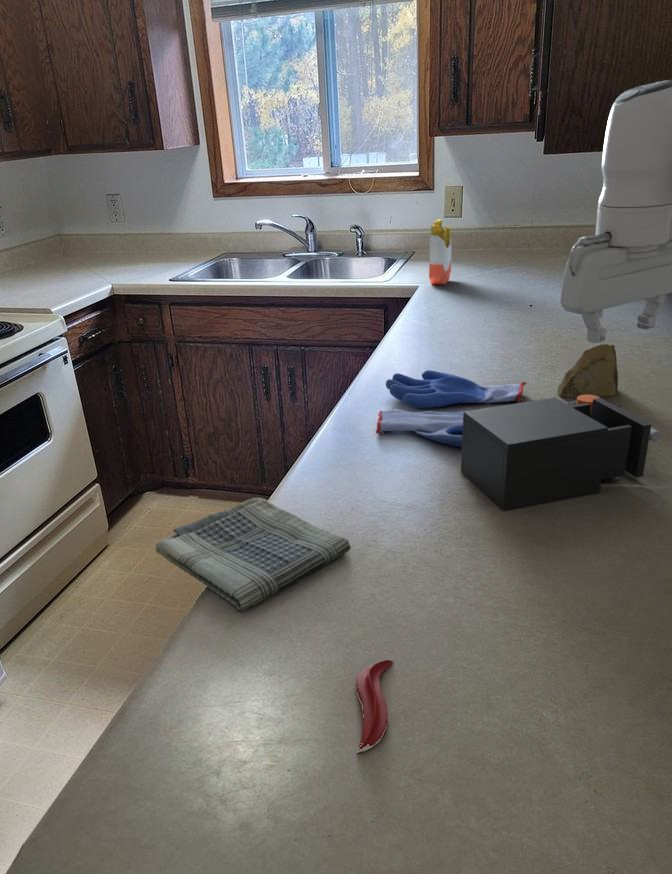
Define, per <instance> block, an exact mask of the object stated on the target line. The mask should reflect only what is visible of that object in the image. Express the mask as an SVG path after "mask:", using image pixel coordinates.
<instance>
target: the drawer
mask: <svg viewBox="0 0 672 874" xmlns="http://www.w3.org/2000/svg"><path fill="white" fill-rule="evenodd" d="M571 407H573V408H574V409H576V410H578V411H580V412H581V413H583V414H585V415H587V416H588V417H589V415H590V407H591V404H589V403H584V404H578V405H572V406H571ZM591 418H592V419H594V420H595V421H597V422H599V423H601V424H602V425H604V426H606V427H608V433H607V434H608V435H607V442H606V449H605V456H604V463H603V471H602V478H601V481H603V480H607V479H613V478H618V477H624V476H625V475H626V473H627V474H629V475H630V476H632V477H634V479H635V478H642V477H644V471H645V468H646V467H645V466H646V461H647V460H646V459H647V454H648V448H649V442H650V441H651V442H653V443H656V442H658V441H660V439H661V437H662V433H661V431H659V430H657V429H655V428H653V427H652V423H649V422H648V421H645V420H643V419H641V418H640V417H638V416H636V415H634V414H632V413H630V412H629V411H626V410H624V409H622V408H621V407H620V408H618V407H617V406H616V405H615V404H612V403H610V402H609V401H607V400H606V399H603V398H601V397H600V398H596V399H593V403H592V411H591Z"/></svg>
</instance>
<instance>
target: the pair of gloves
mask: <svg viewBox="0 0 672 874" xmlns="http://www.w3.org/2000/svg"><path fill="white" fill-rule="evenodd" d="M421 377H422V379H418V378H413V377H411V376H408V375H405V374H402V373H394V374H392V378H389V379H386V381H385V387H386V389H387V390H388V391H389V393H390V396H392V397H394V398H395V399H397V400H399V401H401V402H403V403H404V404H405V405H406V406H408V407H412V408H415V409H425V408H440V407H446V406H450V405H455V404H472V403H473V404H474V403H475V404H476V403H483V404H494V403H495V404H496V403H510V402H515V404H516V403H520V401H521V397H522V395H523V392H524V386H525V385H527V382H525V381H522V382H520V383H518V384H501V385H494V384H493V385H486V386H484V385H482V384H478V383H477V382H474V381H473V380H470V379H467V378H465V377H462V376H459V375H455V374H452V373H451V374H450V373H448V372H447V373H446V372H440V371H436V370H430V369H429V370H427V369H426V370H424V371H423V372H422V373H421ZM465 411H466V410H462V411H450V412H449V411H447V412H446V411H444V412H443V411H431V410H424V411H422V412H421V411H419V412H418V411H417V412H415V411H414V412H412V411H406V410H403V409H397V408H395V409H394V408H393V409H388V410H379V412H378V419H377V422H376V429H375V433H376V434H380V433H381V434H382V435H385V433H384V432H414V433H415V434H417V435H419V436H421V437H423V438H425V439H427V440H431V441H434V442H437V443H441V444H445V445H450V446H452V447H457V448H461V449H462V434H463V413H464V412H465Z"/></svg>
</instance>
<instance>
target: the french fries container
mask: <svg viewBox="0 0 672 874" xmlns="http://www.w3.org/2000/svg"><path fill="white" fill-rule="evenodd" d="M442 221H443V220H442V219H436V221H433V224H431V225H430V234H429V269H428V276H429V277H428V278H429V282H430V284H431V285H446V284H447V283H448V282H449V280H450V277H451V272H452V244H453V243H452V241H453V240H452V239H453V238H452V236H453V235H452V231H451V226H449V225H447V226H445V227H443V226H442V225H443V224H442Z"/></svg>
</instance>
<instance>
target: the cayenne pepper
mask: <svg viewBox="0 0 672 874" xmlns="http://www.w3.org/2000/svg"><path fill="white" fill-rule="evenodd" d="M392 663H393V664H394V661H392V660H391V659H386V660H382V661H379V662H376V663H375V664H372V665H369V666H368V667H365V668H364V669H363V670H362V671H361V672H360V673H358V675H357V676H356V678H355V679H356V680H355V686H356V685H357V692H358V695H359V698H360V700H361V702H362V705H363V714H364V718H362V728H363V731H362V730H361V740H360V742H359V744H360V743H363V745H362V744H360V745H362V746H361V747H360V749H362V748H363V747H365V746H367V744H369V746H372V745H374V744H375V743H376V742H377V741H378V740H379V739H380V738H381V736H382V734H383V732H384V730H385V727H386V724H387V725H388V708H387V703H386V699H385V696H384V693H383V690H382V687H381V678H382V676H381V674H382V673H383V671H384V672H386V670H387V669H386V668H388V667H389V666H390V665H391V664H392ZM393 664H392V665H393ZM392 665H391V666H392ZM391 666H390V667H391ZM390 667H389V668H390ZM389 668H388V669H389ZM385 669H386V670H385ZM383 674H384V673H383ZM383 674H382V675H383ZM380 677H381V678H380ZM360 749H359V750H360Z"/></svg>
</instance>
